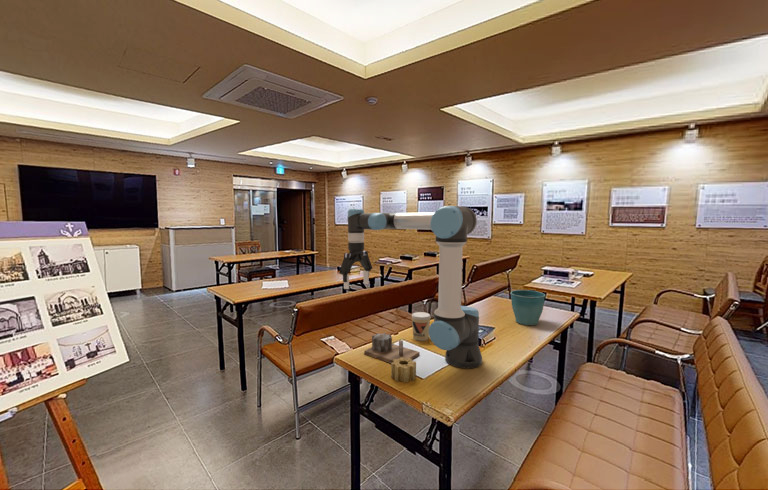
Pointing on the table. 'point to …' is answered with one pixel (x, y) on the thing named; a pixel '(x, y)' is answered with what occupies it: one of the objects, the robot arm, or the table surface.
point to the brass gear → (403, 369)
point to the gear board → (392, 354)
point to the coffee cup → (420, 325)
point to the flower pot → (527, 306)
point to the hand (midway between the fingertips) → (356, 286)
